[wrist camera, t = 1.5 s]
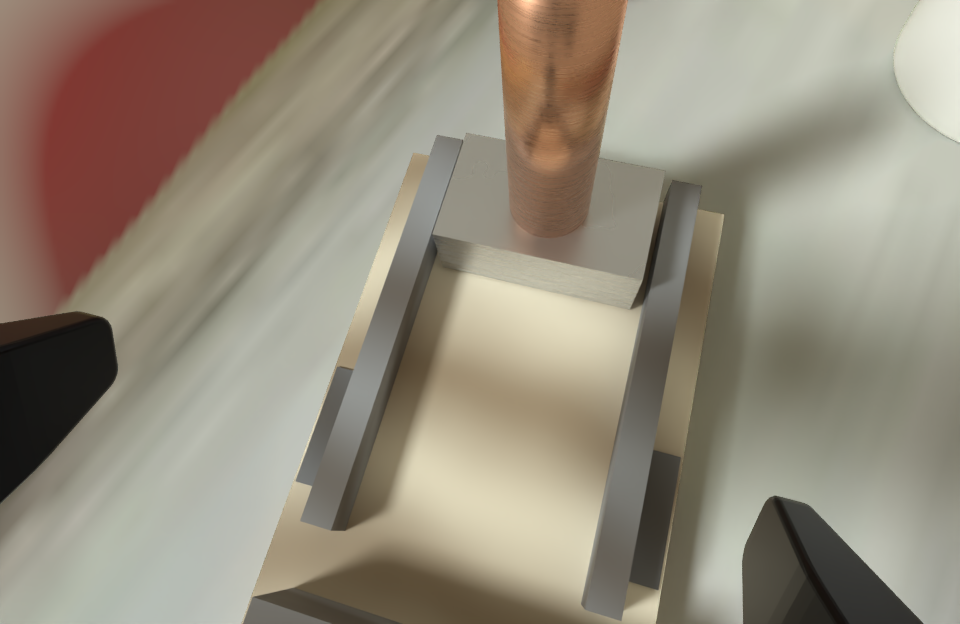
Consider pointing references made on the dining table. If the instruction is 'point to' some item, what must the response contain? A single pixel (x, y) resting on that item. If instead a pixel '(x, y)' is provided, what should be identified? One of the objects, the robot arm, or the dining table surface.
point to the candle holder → (931, 64)
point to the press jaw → (552, 165)
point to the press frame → (495, 438)
